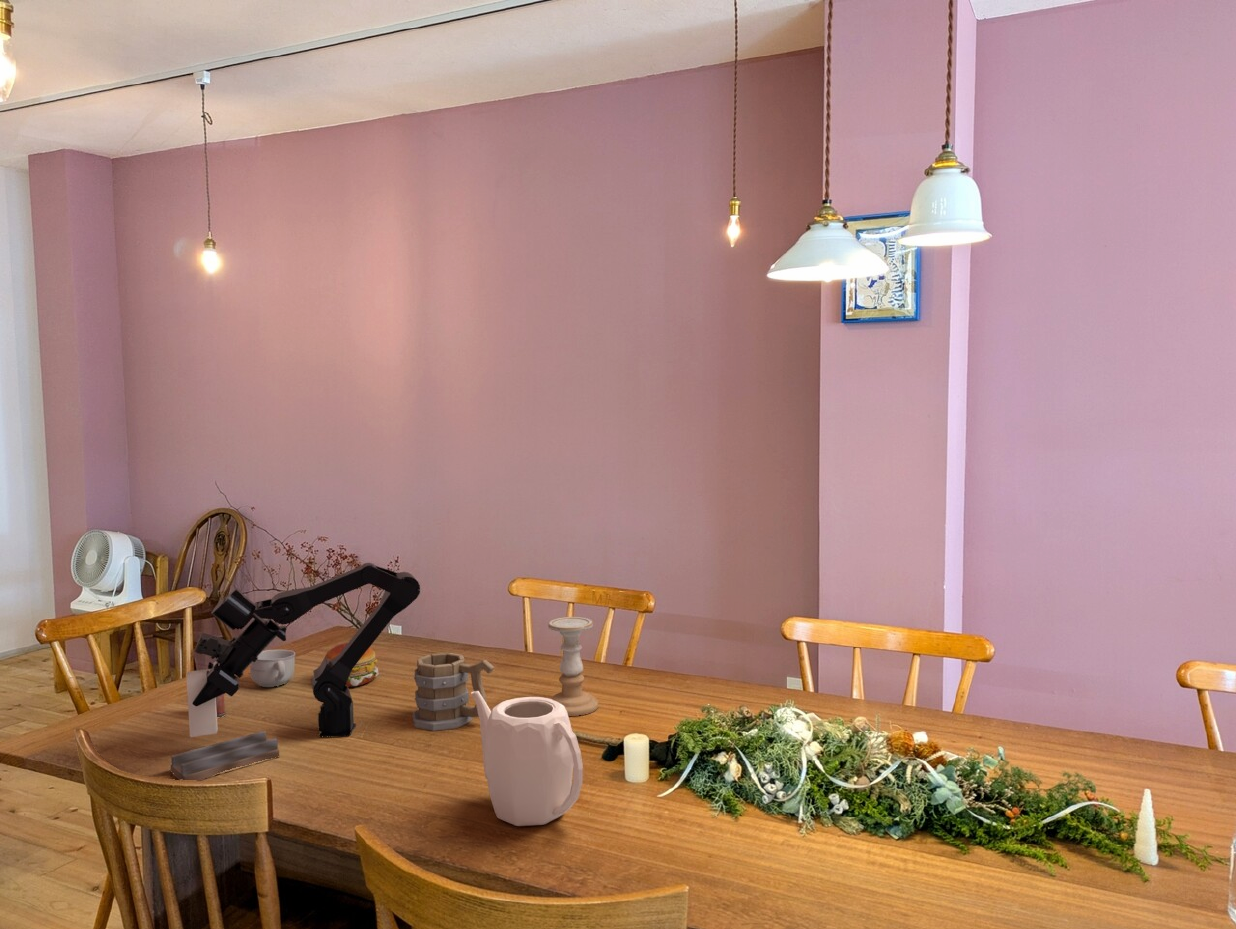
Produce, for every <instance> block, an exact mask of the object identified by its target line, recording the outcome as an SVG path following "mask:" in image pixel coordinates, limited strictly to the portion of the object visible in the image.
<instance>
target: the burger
mask: <svg viewBox="0 0 1236 929" xmlns="http://www.w3.org/2000/svg"><path fill="white" fill-rule="evenodd" d="M347 644H348V642H345V643H341V644H338V645H336V646H334V647H332V648H330V649H329V651H327V652H326V654H325V656H324V658H325V657H326V658H327V659H328V660H329V661H331V660H332V659H334V658H335V657H336V656H338V655H339V654H340V652H341V651H342V650H343V649H344V647H345V646H346V645H347ZM377 662H378V659H377V658H376V652H375V650H374V648H372V646H370V647H369V648H368V650H367V651H366V652H365V653H364V655H363V656H362V657H361V659H360V660H359V661H358V662H357V664H356V665H355V666H354V667H353V669H352V671H351V673H350V676H349V678H348V680H347V683H346V686H347V687H349V688H351V687H352V688H353V687H357V686H362V685H365V684H368V683H370V682H371V681H373V680H374V678H375V677H377V676H379V668H378V667H377V666H376V664H377Z"/></svg>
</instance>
